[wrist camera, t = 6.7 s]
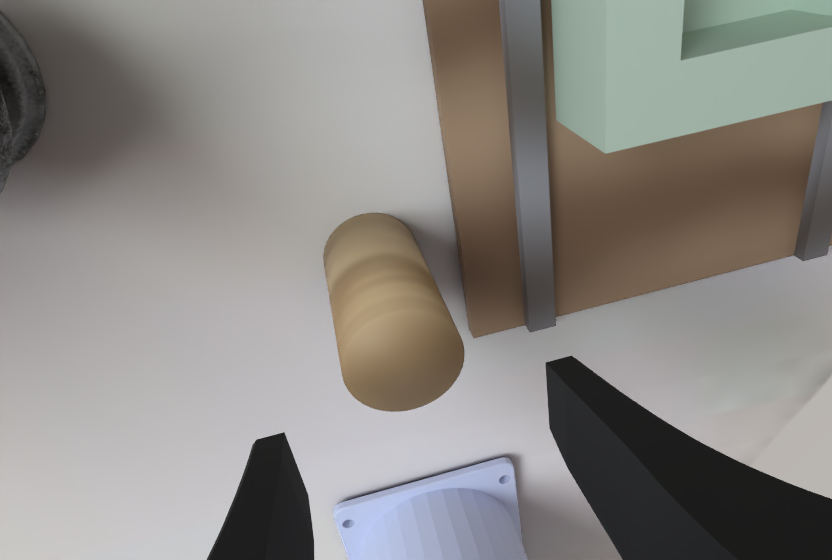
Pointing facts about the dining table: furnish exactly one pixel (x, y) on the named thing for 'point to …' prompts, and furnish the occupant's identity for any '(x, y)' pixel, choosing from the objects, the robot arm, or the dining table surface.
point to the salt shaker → (18, 98)
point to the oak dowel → (389, 316)
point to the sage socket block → (685, 65)
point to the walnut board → (602, 182)
